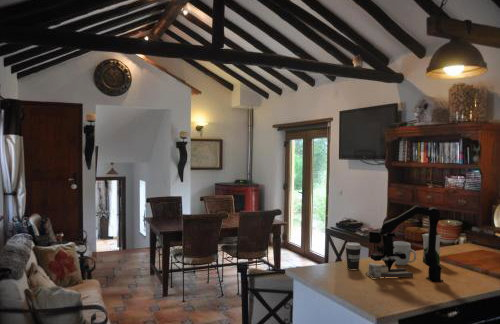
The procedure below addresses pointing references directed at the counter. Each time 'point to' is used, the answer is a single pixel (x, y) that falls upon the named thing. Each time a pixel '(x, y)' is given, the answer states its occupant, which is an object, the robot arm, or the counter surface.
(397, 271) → the track
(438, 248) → the milk carton
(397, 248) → the mug
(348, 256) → the coffee cup
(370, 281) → the counter surface
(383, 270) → the block
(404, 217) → the robot arm
